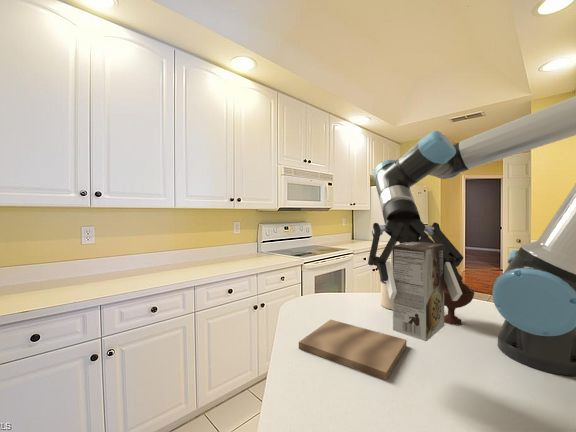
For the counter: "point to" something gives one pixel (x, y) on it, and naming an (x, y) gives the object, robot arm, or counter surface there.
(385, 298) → the teacup with lid
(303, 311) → the counter surface
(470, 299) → the ice cream bowl
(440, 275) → the coffee box
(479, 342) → the counter surface
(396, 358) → the walnut board
